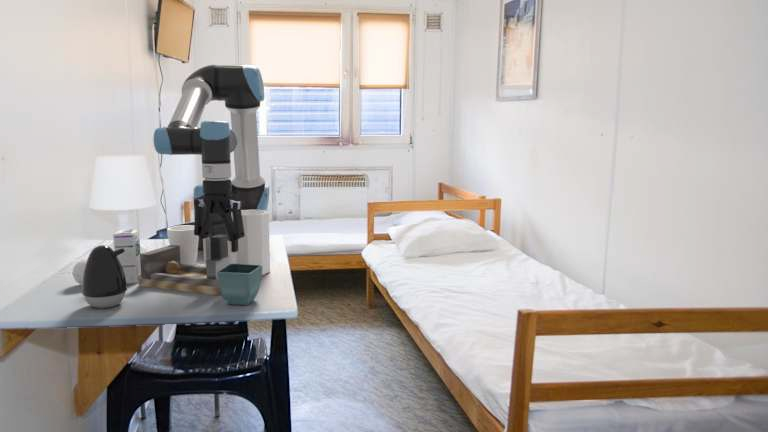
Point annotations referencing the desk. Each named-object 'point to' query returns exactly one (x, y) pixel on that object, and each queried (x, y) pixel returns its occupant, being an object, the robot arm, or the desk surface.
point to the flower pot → (240, 283)
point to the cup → (254, 240)
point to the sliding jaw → (217, 255)
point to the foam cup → (184, 242)
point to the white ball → (79, 271)
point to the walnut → (172, 267)
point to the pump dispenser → (104, 278)
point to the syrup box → (129, 253)
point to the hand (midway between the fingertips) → (220, 262)
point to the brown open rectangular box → (184, 280)
